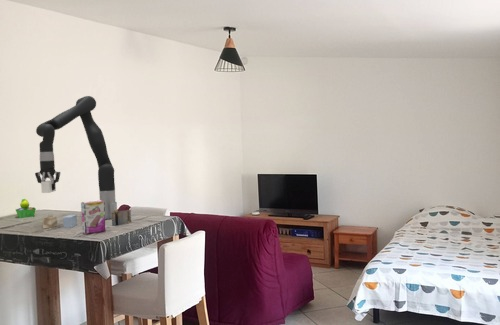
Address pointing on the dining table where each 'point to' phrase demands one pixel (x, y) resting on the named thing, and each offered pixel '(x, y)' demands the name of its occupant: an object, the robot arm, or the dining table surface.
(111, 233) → the dining table surface
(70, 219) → the blue block
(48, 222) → the oak block
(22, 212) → the fruit basket
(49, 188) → the white block
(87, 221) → the candy bar box
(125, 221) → the architectural model on board
